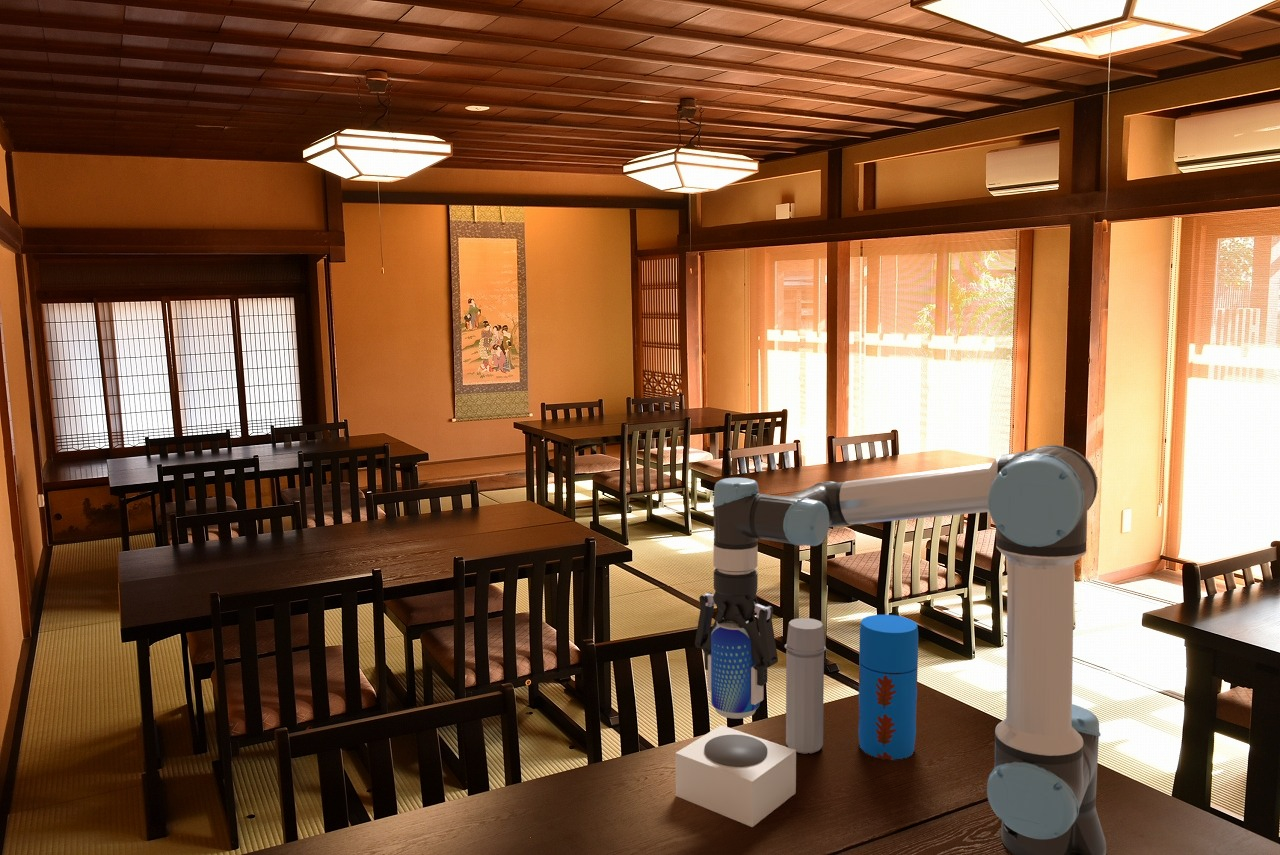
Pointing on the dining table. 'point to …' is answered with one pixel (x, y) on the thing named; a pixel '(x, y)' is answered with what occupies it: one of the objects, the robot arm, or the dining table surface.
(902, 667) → the thermos
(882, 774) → the dining table surface
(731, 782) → the white block with disc
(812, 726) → the water bottle
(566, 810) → the dining table surface
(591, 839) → the dining table surface
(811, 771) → the dining table surface
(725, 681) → the beer can
